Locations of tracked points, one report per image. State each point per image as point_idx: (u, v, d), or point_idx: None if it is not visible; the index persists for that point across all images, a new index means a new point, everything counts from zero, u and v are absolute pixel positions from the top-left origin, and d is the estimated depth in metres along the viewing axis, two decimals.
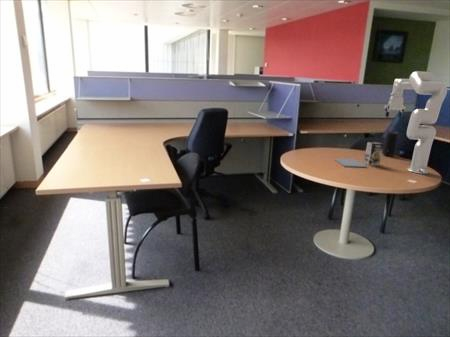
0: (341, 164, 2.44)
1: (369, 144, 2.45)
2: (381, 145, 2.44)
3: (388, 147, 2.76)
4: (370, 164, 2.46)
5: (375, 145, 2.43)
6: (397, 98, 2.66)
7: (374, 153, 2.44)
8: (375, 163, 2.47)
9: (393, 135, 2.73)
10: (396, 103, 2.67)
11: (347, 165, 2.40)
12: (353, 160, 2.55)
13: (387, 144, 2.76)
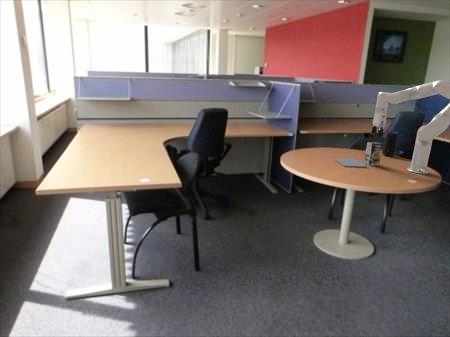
0: (341, 164, 2.44)
1: (369, 144, 2.45)
2: (381, 145, 2.44)
3: (388, 147, 2.76)
4: (370, 164, 2.46)
5: (375, 145, 2.43)
6: None
7: (374, 153, 2.44)
8: (375, 163, 2.47)
9: (393, 135, 2.73)
10: None
11: (347, 165, 2.40)
12: (353, 160, 2.55)
13: (387, 144, 2.76)
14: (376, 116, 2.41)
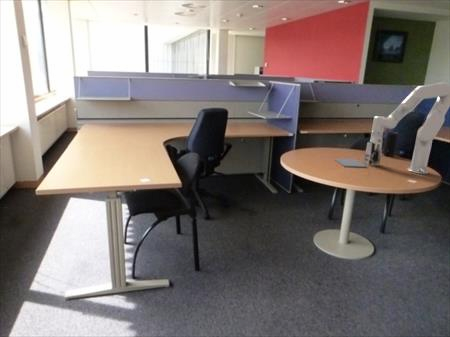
0: (341, 164, 2.44)
1: (369, 144, 2.45)
2: None
3: (388, 147, 2.76)
4: (370, 164, 2.46)
5: None
6: None
7: (374, 153, 2.44)
8: (375, 163, 2.47)
9: (393, 135, 2.73)
10: None
11: (347, 165, 2.40)
12: (353, 160, 2.55)
13: (387, 144, 2.76)
14: (372, 139, 2.45)
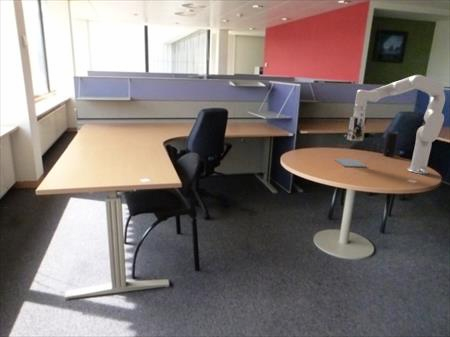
0: (341, 164, 2.44)
1: (352, 119, 2.40)
2: None
3: (388, 147, 2.76)
4: (353, 139, 2.41)
5: None
6: None
7: None
8: (358, 138, 2.41)
9: (393, 135, 2.73)
10: None
11: (347, 165, 2.40)
12: (353, 160, 2.55)
13: (387, 144, 2.76)
14: (355, 114, 2.40)
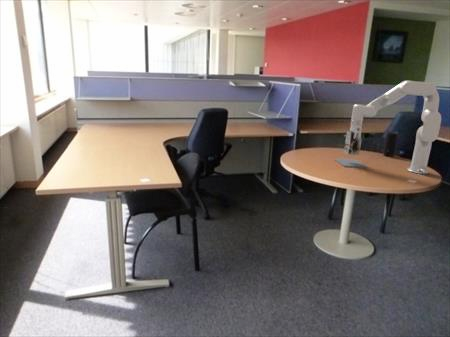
0: (341, 164, 2.44)
1: (348, 133, 2.43)
2: None
3: (388, 147, 2.76)
4: (349, 153, 2.43)
5: None
6: None
7: None
8: (354, 152, 2.44)
9: (393, 135, 2.73)
10: None
11: (347, 165, 2.40)
12: (353, 160, 2.55)
13: (387, 144, 2.76)
14: (352, 128, 2.42)
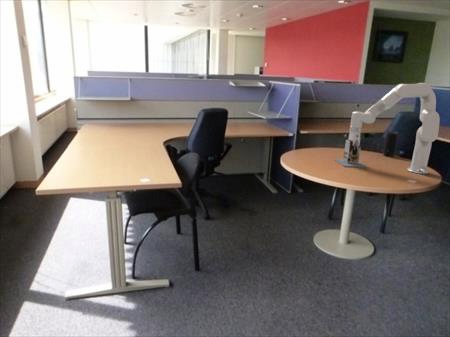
0: (341, 164, 2.44)
1: (347, 142, 2.44)
2: None
3: (388, 147, 2.76)
4: (348, 162, 2.45)
5: None
6: None
7: None
8: (353, 161, 2.46)
9: (393, 135, 2.73)
10: None
11: (347, 165, 2.40)
12: None
13: (387, 144, 2.76)
14: (350, 135, 2.44)
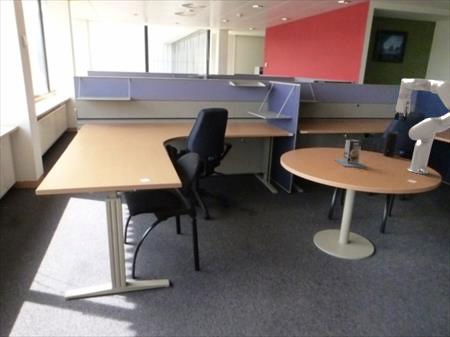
0: (341, 164, 2.44)
1: (347, 142, 2.44)
2: (359, 143, 2.43)
3: (388, 147, 2.76)
4: (348, 162, 2.45)
5: (353, 143, 2.41)
6: None
7: (353, 151, 2.43)
8: (353, 161, 2.46)
9: (393, 135, 2.73)
10: None
11: (347, 165, 2.40)
12: None
13: (387, 144, 2.76)
14: (400, 102, 2.45)
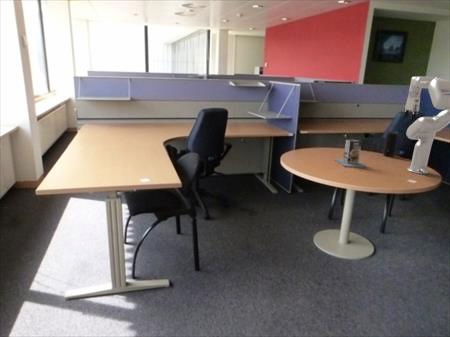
0: (341, 164, 2.44)
1: (347, 142, 2.44)
2: (359, 143, 2.43)
3: (388, 147, 2.76)
4: (348, 162, 2.45)
5: (353, 143, 2.41)
6: None
7: (353, 151, 2.43)
8: (353, 161, 2.46)
9: (393, 135, 2.73)
10: None
11: (347, 165, 2.40)
12: None
13: (387, 144, 2.76)
14: (409, 100, 2.46)
